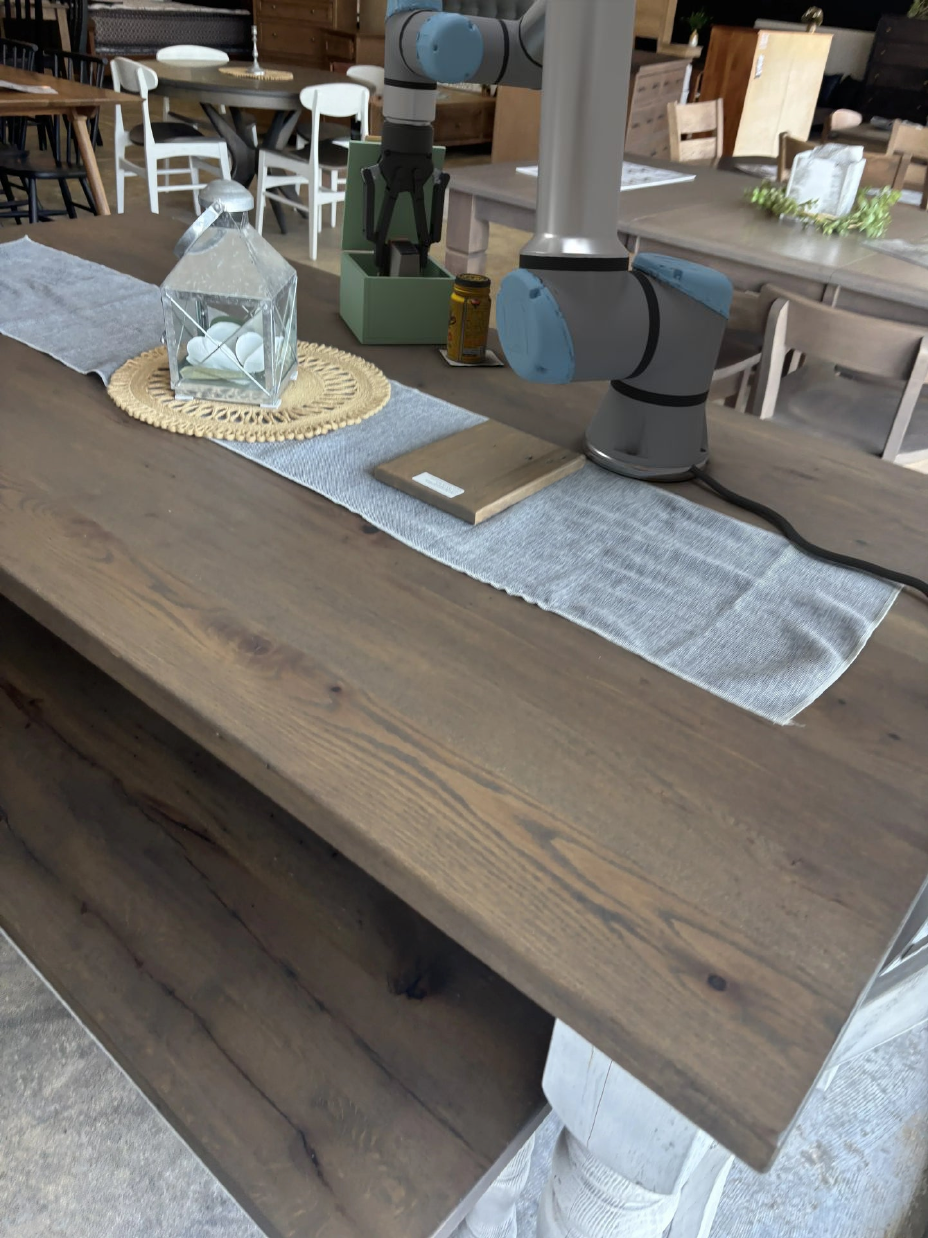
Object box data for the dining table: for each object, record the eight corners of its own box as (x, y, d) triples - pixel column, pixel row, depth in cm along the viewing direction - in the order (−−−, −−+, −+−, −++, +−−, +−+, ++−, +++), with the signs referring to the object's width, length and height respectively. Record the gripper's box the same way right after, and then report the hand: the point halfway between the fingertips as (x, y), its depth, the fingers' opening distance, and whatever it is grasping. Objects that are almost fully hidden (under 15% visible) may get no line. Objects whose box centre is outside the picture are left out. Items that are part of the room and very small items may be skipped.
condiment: (438, 350, 140) (445, 269, 134) (490, 351, 142) (499, 271, 136) (450, 366, 134) (457, 283, 128) (504, 367, 137) (514, 284, 130)
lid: (445, 148, 138) (430, 123, 143) (350, 142, 133) (338, 117, 138) (429, 252, 150) (416, 226, 155) (341, 250, 145) (330, 223, 150)
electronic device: (402, 280, 147) (404, 231, 143) (422, 298, 140) (425, 247, 136) (376, 281, 146) (377, 231, 141) (395, 299, 139) (397, 248, 134)
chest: (453, 343, 144) (458, 279, 138) (361, 344, 139) (364, 277, 134) (424, 314, 156) (428, 254, 150) (339, 314, 151) (340, 251, 146)
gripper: (457, 122, 136) (444, 282, 149) (342, 113, 130) (338, 281, 143) (474, 128, 130) (459, 295, 143) (354, 120, 124) (349, 294, 137)
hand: (399, 288), depth 143 cm, fingers closed on electronic device, 4 cm apart
